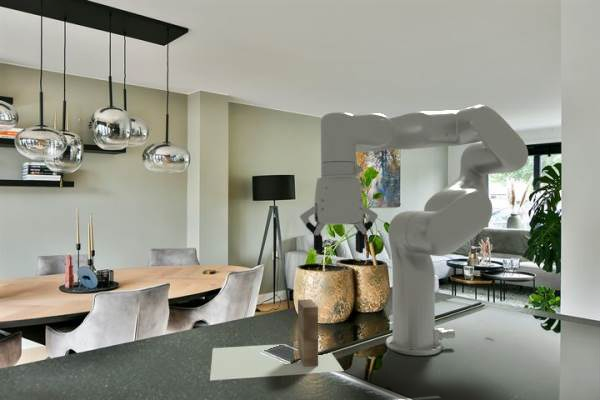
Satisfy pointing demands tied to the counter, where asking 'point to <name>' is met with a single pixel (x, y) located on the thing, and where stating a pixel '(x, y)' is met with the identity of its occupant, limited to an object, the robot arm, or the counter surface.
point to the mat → (262, 364)
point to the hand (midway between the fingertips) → (339, 252)
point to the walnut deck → (308, 332)
